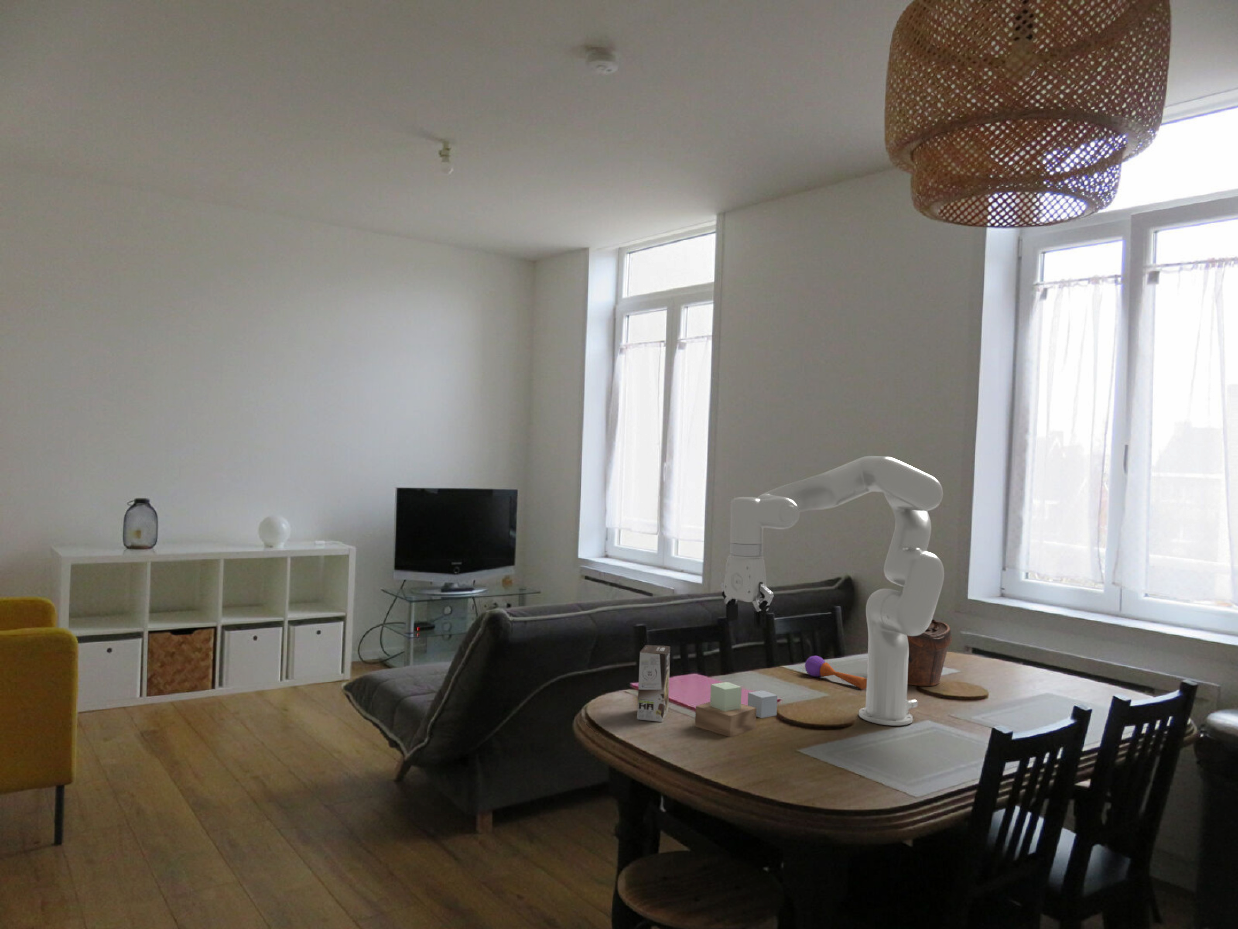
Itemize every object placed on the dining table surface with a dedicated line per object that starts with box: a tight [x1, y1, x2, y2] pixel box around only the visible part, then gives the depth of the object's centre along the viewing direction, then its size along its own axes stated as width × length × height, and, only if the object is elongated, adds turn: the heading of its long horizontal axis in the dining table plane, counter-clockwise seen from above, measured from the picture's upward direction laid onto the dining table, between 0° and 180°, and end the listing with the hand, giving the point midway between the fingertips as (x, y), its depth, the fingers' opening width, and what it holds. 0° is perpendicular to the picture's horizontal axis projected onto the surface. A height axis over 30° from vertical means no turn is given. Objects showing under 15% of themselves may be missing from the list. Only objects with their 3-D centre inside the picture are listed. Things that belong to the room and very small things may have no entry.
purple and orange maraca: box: [804, 655, 867, 690], centre depth 252 cm, size 6×6×20 cm
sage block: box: [709, 681, 743, 711], centre depth 206 cm, size 5×5×5 cm
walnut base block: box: [694, 701, 757, 738], centre depth 206 cm, size 10×10×5 cm
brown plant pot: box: [907, 619, 953, 687], centre depth 256 cm, size 18×20×18 cm
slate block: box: [747, 690, 778, 719], centre depth 218 cm, size 5×5×5 cm
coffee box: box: [636, 644, 671, 723], centre depth 213 cm, size 9×6×16 cm
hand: (745, 624), depth 206 cm, fingers open, 9 cm apart
